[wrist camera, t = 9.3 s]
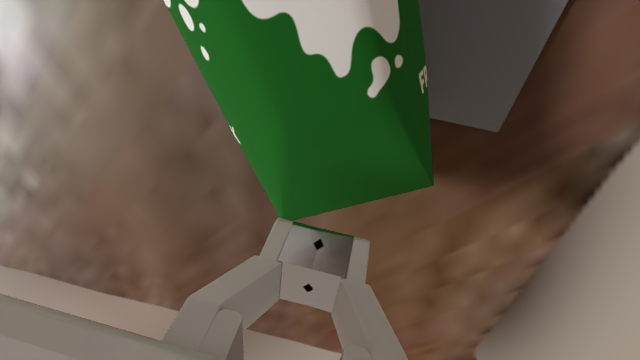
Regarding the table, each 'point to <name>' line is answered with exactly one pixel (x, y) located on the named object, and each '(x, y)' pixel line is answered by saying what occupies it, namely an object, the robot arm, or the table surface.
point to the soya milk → (318, 94)
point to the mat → (482, 55)
